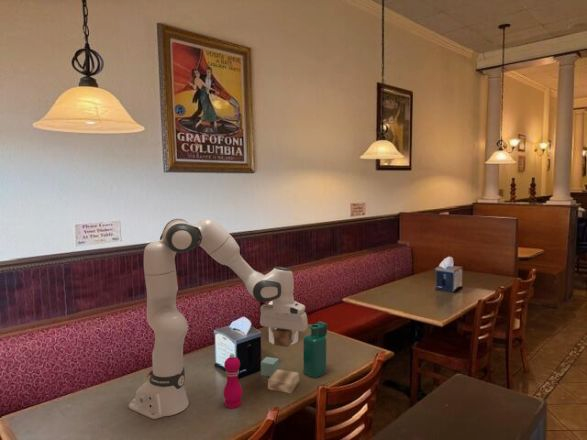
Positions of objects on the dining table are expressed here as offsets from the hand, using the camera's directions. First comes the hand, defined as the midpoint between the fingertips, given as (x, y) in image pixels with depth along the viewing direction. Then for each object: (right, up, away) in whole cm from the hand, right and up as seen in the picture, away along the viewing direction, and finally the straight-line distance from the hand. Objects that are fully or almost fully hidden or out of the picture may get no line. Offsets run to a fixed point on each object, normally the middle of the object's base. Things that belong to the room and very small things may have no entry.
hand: (283, 338), depth 171 cm
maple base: (0, -20, +2) cm, 20 cm away
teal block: (-6, -19, +13) cm, 24 cm away
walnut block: (0, -2, 0) cm, 2 cm away
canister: (-1, -16, +52) cm, 54 cm away
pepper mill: (-19, -22, -12) cm, 32 cm away
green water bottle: (+14, -19, +14) cm, 28 cm away
